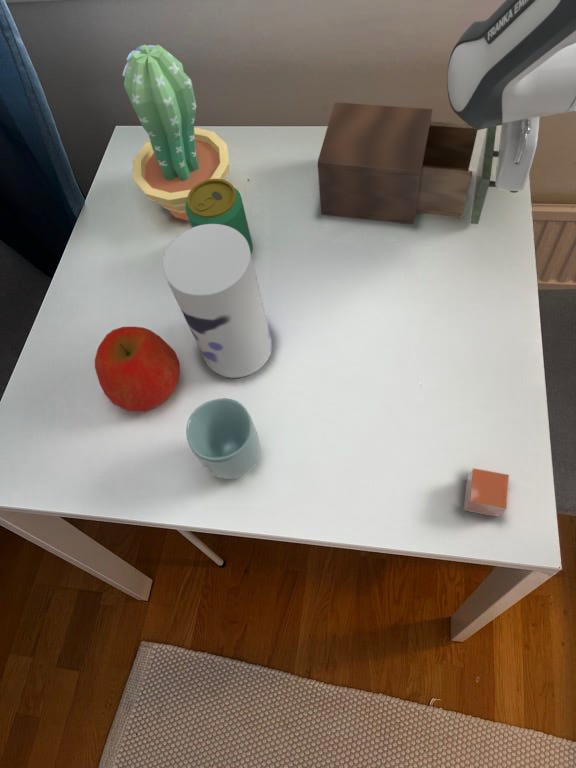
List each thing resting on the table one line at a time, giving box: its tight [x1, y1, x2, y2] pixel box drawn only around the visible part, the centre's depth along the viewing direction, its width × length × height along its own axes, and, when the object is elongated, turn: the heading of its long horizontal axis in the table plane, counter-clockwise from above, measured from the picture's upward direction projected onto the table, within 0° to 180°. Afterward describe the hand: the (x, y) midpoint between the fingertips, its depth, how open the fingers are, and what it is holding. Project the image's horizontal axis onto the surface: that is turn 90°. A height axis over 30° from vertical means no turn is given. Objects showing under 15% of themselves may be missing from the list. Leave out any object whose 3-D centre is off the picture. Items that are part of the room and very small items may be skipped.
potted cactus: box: [122, 43, 230, 222], centre depth 85 cm, size 15×15×25 cm
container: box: [162, 224, 274, 379], centre depth 73 cm, size 10×10×20 cm
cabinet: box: [316, 101, 433, 225], centre depth 88 cm, size 15×13×11 cm
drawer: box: [416, 121, 519, 225], centre depth 86 cm, size 18×11×9 cm, turn 77°
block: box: [463, 468, 510, 518], centre depth 68 cm, size 4×4×4 cm
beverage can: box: [185, 179, 254, 254], centre depth 85 cm, size 8×8×12 cm
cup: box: [185, 397, 261, 480], centre depth 70 cm, size 8×8×10 cm
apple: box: [94, 326, 181, 413], centre depth 76 cm, size 11×11×11 cm
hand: (505, 166), depth 83 cm, fingers closed
